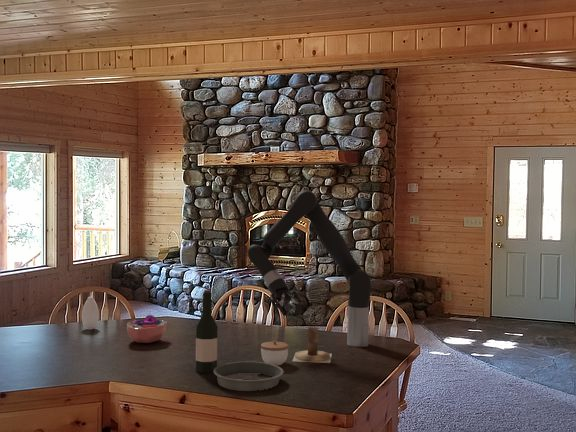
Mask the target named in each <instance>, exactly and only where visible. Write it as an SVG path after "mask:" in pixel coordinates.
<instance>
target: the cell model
mask: <svg viewBox="0 0 576 432" xmlns="http://www.w3.org/2000/svg"><path fill="white" fill-rule="evenodd" d="M167 323H168V322H167V321H166V320H163V319H157V317H156V316H154V315H152V314H149V315H146V317H145V318H144V319H136V320H131V321H129V322H127V323H126V329H127V335H128V337H129V338H130V339H131V340H133V341H134V342H136V343H141V344H150V343H155V342H158V341H159V340H161V339H162V338H163V337H164V336H165V333H166V329H167Z"/></svg>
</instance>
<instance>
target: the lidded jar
mask: <svg viewBox="0 0 576 432" xmlns="http://www.w3.org/2000/svg"><path fill="white" fill-rule="evenodd" d="M260 354H261V358H262V360H263V363H269V364H273V365H276V366H281V365H283V364H284V363H285V362H286V360H287V358H288V354H289V344H288V343H286V342H284V341H283V342H282V341H277V340H275V339H273V340H272V341H266V342H262V343H261V344H260Z"/></svg>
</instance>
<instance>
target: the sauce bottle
mask: <svg viewBox="0 0 576 432" xmlns="http://www.w3.org/2000/svg"><path fill="white" fill-rule="evenodd" d="M99 318H100V310H99V307H98V304H97V302H96V300H95V299H94V297H93V296H92V291H90V292H89V296H88V297H87V299H86V301H85V303H84V304H83V307H82V310H81V321H82V322H81V323H82V324H83V325H82V326H84V328H85V329H87V330H90V331H91V330H93V329H95V327H97V325H98V324H99Z"/></svg>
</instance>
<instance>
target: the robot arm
mask: <svg viewBox="0 0 576 432" xmlns="http://www.w3.org/2000/svg"><path fill="white" fill-rule="evenodd" d="M304 217H306V218H307V219H308V220H309V221H310V223H311V226H312V227H313V230H314V232H315V234H316V235H317V237H318V240H319V241H320V243H321V245H322V246H323V247H324V248H325V251H326V252H327V253H328V254H329V256H330V257H331V258H332V260H333V261H334V262H335V263H336V264H337V266H338V267H339V268H340V270H341V272H342V273H343V275H344V277H345V279H346V281H347V283H348V285H349V297H348V299H347V331H346V332H347V333H346V334H347V335H346V344H347V346H349V347H354V348H355V347H356V348H363V347H367V348H368V347H369V328H370V327H369V322H370V320H369V317H370V316H369V315H370V314H369V312H370V300H371V292H372V291H371V287H372V282H371V281H372V279H371V277H370V275H369V273H367V272H366V271H365V270H364V269H362V267H361V266H360V265H359V264H358V262H357V261H356V259H355V258H354V257H353V254H352V253H351V250H350V248H349V246H348V244H347V242H346V240H345V238H344V237H343V235H342V234H341V232H340V231H339V230H338V228H337V226H336V225H335V224H334V222H332V221H331V219H330V218H329V217H328V216H327V214H326V213H325V211H324V210H323V208H322V206H321V205H320V203H319V201H318V198H317V196H316V194H315V192H313V191H311V190H309V189H303V190H300V191H299V192H298V193H297V195H296V197H295V200H294V202H293V204H291V207H290V208H289V209H288V210H287V211H286V212H285V214H284V215H283V216H282V217H280V218H279V219H278V220H277V221H276V222H274V224H273V225H272V226H271V227H270V229H268V231H266V233H265V234H264V235H263V237H262V240H263V242H262V244H261V245H259V244H251V245H250V246H249V247H248V248H247V256H248V259H249V260H250V262H251V263H252V264H253V266H254V267H255V268H256V269H257V270H258V272H259V273H260V275H261V277H262V279H263V281H264V283H265V285H266V287H267V289H268V290H269V292H270V296H269V297H268V299H269V300H270V302H271V304H272V307H273V308H274V309H277V310H279V311H280V313H281V314H282V315H283V317H287V315H288V314H289V312H288V310H287V309H286V307H285V306H284V304H289V305H291V306H293V307H294V308H295V311H296V312H297V314H298V315H300V314H302V313H303V308H302V306H301V303H302V299H301V298H300V296H299V295H298V294H297V292H296V291H295V290H293V291H292V292H291V291H290V290H289V287H288V284H287V283H286V281H285V280H284V278H283V276H282V274H281V273H280V272H279V270H278V269H277V268H276V266H275V264H274V263H273V262H272V261H271V260H270V257H271V256H272V254H273V252H274V250H275V249H276V247H277V246H278V244H279V243H280V242H281V241H282V240H283V239H284V238H285V237H286V236H287V234H288V233H289V232H290V231H291V229H292V228H293V227H294V226H295V225H296V224H297V223H298V222H299V221H300V220H301V219H302V218H304Z"/></svg>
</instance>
